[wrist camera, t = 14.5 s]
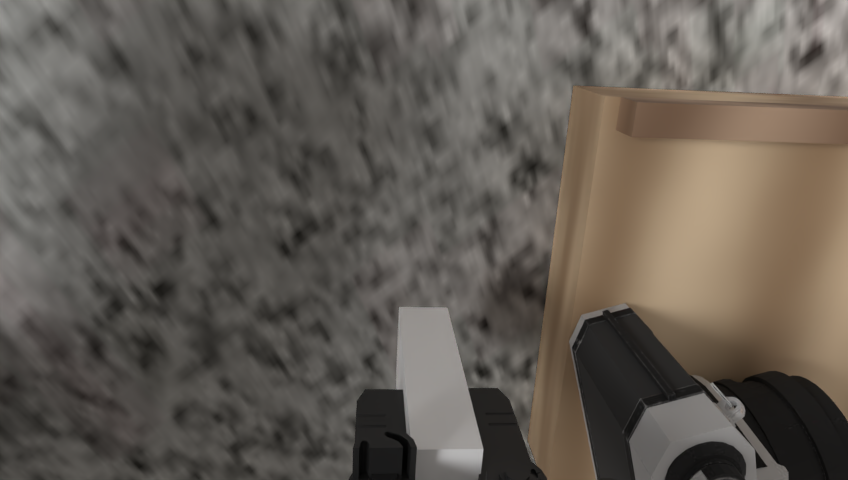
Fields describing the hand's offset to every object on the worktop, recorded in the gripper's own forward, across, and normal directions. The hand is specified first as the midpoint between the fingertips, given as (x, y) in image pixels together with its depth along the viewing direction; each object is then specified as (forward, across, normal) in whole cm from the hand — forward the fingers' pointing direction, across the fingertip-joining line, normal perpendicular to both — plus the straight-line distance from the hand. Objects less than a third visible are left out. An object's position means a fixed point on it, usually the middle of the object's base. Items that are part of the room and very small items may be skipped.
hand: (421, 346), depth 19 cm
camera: (+2, +10, -5) cm, 11 cm away
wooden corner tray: (+5, +12, 0) cm, 13 cm away
